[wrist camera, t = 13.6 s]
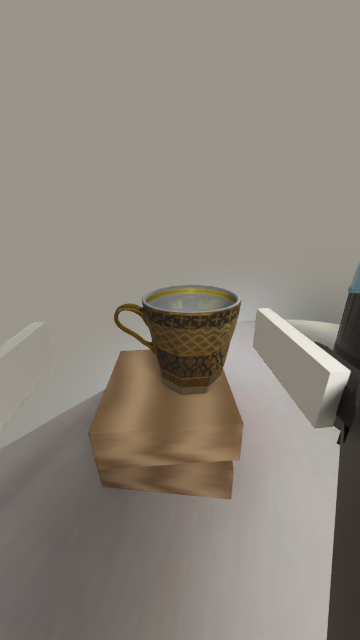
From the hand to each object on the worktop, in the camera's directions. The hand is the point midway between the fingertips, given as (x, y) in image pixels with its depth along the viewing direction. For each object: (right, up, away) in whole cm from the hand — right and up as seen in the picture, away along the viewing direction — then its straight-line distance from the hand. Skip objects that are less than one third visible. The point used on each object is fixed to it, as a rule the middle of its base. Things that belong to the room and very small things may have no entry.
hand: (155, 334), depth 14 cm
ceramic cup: (+1, -6, +12) cm, 14 cm away
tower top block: (0, -11, +14) cm, 18 cm away
